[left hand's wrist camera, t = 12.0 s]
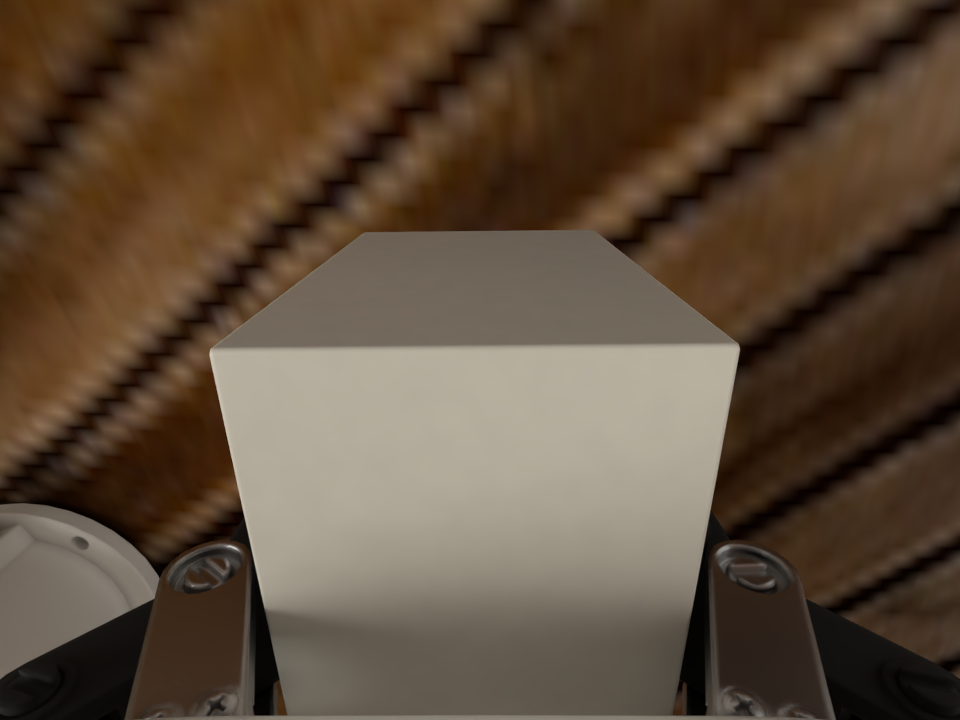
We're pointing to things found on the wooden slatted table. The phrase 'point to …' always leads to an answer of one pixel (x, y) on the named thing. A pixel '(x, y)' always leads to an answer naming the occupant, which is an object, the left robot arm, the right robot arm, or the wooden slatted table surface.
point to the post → (477, 475)
